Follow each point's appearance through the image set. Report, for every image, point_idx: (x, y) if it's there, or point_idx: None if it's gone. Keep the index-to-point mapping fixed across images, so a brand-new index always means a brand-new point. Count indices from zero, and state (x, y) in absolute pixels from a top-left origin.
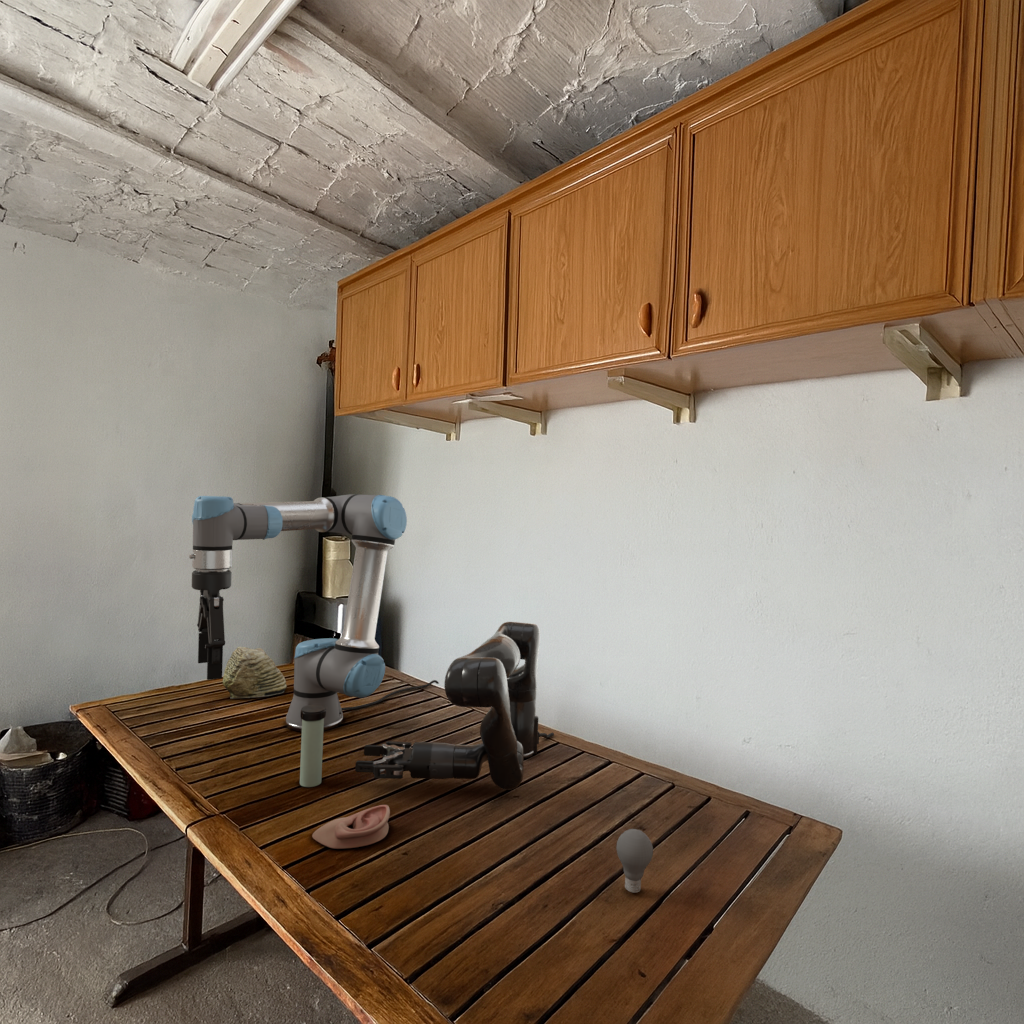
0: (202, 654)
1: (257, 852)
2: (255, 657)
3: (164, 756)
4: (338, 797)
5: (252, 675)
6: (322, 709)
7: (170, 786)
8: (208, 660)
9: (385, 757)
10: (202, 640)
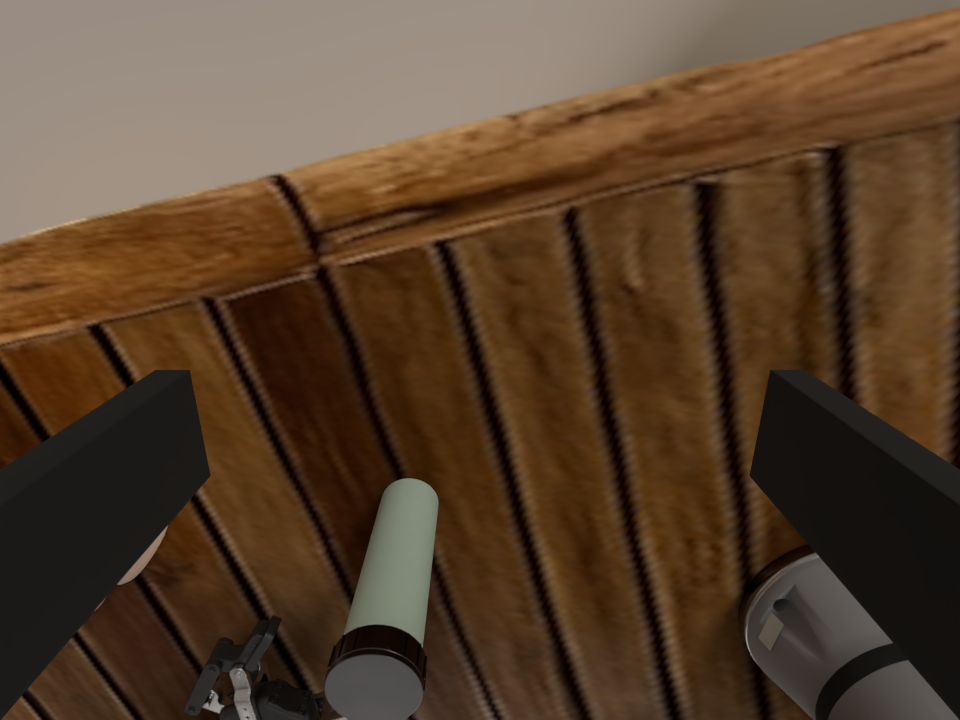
0: (812, 442)
1: (74, 315)
2: None
3: (849, 156)
4: (296, 534)
5: None
6: (346, 711)
7: (575, 152)
8: (13, 468)
9: (243, 701)
10: (941, 544)
